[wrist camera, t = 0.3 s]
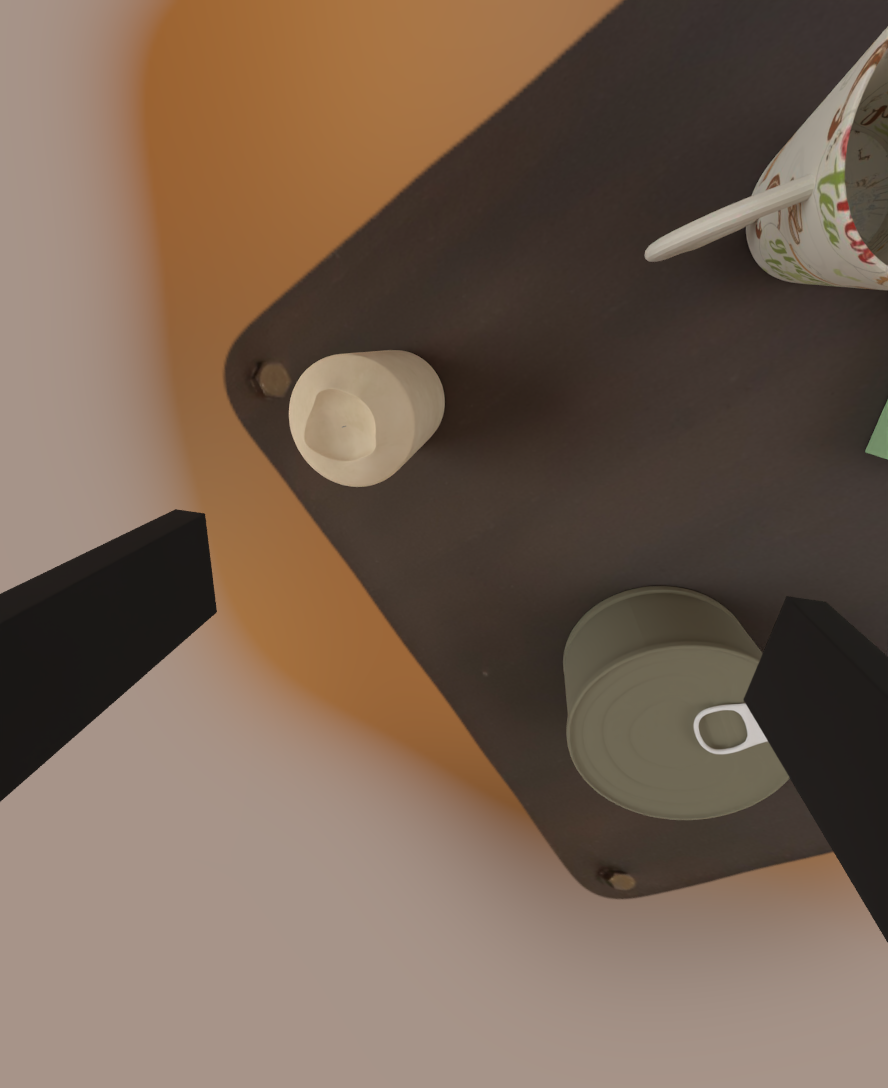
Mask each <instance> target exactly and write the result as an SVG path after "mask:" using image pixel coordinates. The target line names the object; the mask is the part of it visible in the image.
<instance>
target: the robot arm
mask: <svg viewBox="0 0 888 1088" xmlns="http://www.w3.org/2000/svg"><path fill="white" fill-rule="evenodd" d="M216 612H217V610H216V602H215V594H214V585H213V577H212V568H211V561H210V552H209V544H208V535H207V527H206V519H205V514H204V513H197V512H189V511H182V510H174V511H171V512H169V513H167V514H165V515H163V516H161V517H159V518H157V519H155V520H153V521H150V522H149V523H146V524H144V525H142V526H140V527H138V528H136V529H134V530H132V531H130V532H128V533H126V534H124V535H121V536H119V537H118V538H115V539H113V540H111V541H109V542H107V543H105V544H103V545H101V546H99V547H97V548H95V549H92V550H90V551H88V552H86V553H84V554H82V555H80V556H78V557H76V558H74V559H72V560H70V561H68V562H66V563H63V564H61V565H60V566H57V567H55V568H53V569H51V570H49V571H47V572H45V573H43V574H41V575H39V576H37V577H34V578H32V579H30V580H28V581H26V582H24V583H22V584H20V585H18V586H16V587H14V588H12V589H10V590H7V591H5V592H3V593H1V594H0V801H1V800H3V799H4V798H5V797H6V796H7V795H8V794H10V793H11V792H12V791H13V790H14V789H15V788H16V787H17V786H19V785H20V784H21V783H22V782H23V781H24V780H25V779H27V778H28V777H29V776H30V775H31V774H32V773H33V772H35V771H36V770H37V769H38V768H39V767H40V766H42V765H43V764H44V763H45V762H46V761H47V760H48V759H50V758H51V757H52V756H53V755H54V754H55V753H56V752H57V751H59V750H60V749H61V748H62V747H63V746H64V745H66V743H68V742H69V741H70V740H71V739H72V738H74V737H75V736H76V735H77V734H78V733H79V732H80V731H82V730H83V729H84V728H85V727H86V726H87V725H88V724H89V723H91V722H92V721H93V720H94V719H95V718H96V717H97V716H99V715H100V714H101V713H102V712H103V711H104V710H105V709H107V708H108V707H109V706H110V705H111V704H112V703H114V702H115V701H116V700H117V699H118V698H119V697H120V696H122V695H123V694H124V693H125V692H126V691H127V690H128V689H129V688H131V687H132V686H133V685H134V684H135V683H136V682H138V681H139V680H140V679H141V678H142V677H143V676H144V675H145V674H147V672H149V671H150V670H151V669H152V668H153V667H155V665H157V664H158V663H159V662H160V661H161V660H163V659H164V658H165V657H166V656H167V655H168V654H169V653H171V652H172V651H173V650H174V649H175V648H176V647H177V646H179V645H180V644H181V643H182V642H183V641H184V640H185V639H187V638H188V637H189V636H190V635H191V634H192V633H193V632H195V631H196V630H197V629H198V628H199V627H200V626H201V625H203V624H204V623H205V622H206V621H207V620H208V619H209V618H211V617H212V616H213V615H214V614H215V613H216ZM743 700H744V702H745V703H746V705H747V707H748V708H749V710H750V712H751V714H752V715H753V717H754V719H755V720H756V722H757V724H758V725H759V727H760V729H761V730H762V732H763V734H764V735H765V737H766V739H767V740H768V742H769V744H770V746H771V747H772V749H773V751H774V752H775V754H776V756H777V757H778V759H779V761H780V762H781V764H782V766H783V767H784V769H785V771H786V772H787V774H788V776H789V777H790V779H791V781H792V783H793V784H794V786H795V788H796V789H797V791H798V793H799V794H800V796H801V798H802V799H803V801H804V803H805V804H806V806H807V808H808V809H809V811H810V813H811V814H812V816H813V818H814V820H815V821H816V823H817V825H818V826H819V828H820V830H821V831H822V833H823V835H824V836H825V838H826V840H827V841H828V843H829V845H830V846H831V848H832V850H833V851H834V853H835V855H836V857H837V858H838V860H839V861H840V863H841V865H842V867H843V868H844V870H845V872H846V873H847V875H848V877H849V878H850V880H851V882H852V883H853V885H854V886H855V888H856V890H857V892H858V894H859V895H860V897H861V899H862V900H863V902H864V904H865V905H866V907H867V908H868V910H869V912H870V913H871V915H872V917H873V919H874V920H875V922H876V924H877V925H878V927H879V929H880V931H881V932H882V934H883V935H884V937H885V939H886V941H887V942H888V657H887V656H886V655H885V654H884V653H883V652H882V651H881V650H880V649H878V648H877V647H876V646H875V645H874V644H873V643H872V642H870V641H869V640H868V639H867V638H866V637H865V636H864V635H863V634H861V633H860V632H859V631H858V630H857V629H856V628H855V627H854V626H852V625H851V624H850V623H849V622H848V621H847V620H846V619H844V618H843V617H842V616H841V615H840V614H839V613H838V612H837V611H835V610H834V609H833V608H832V607H831V606H830V605H829V604H828V603H826V602H823V601H815V600H808V599H801V598H794V597H786V599H785V601H784V604H783V606H782V609H781V611H780V613H779V616H778V618H777V621H776V623H775V625H774V628H773V630H772V632H771V635H770V637H769V640H768V642H767V644H766V647H765V649H764V652H763V654H762V656H761V659H760V661H759V663H758V666H757V668H756V671H755V673H754V675H753V678H752V680H751V683H750V685H749V687H748V690H747V692H746V694H745V697H744V699H743Z"/></svg>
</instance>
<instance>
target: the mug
mask: <svg viewBox="0 0 888 1088" xmlns="http://www.w3.org/2000/svg"><path fill="white" fill-rule="evenodd" d="M744 227H746V236H747V242H748V246H749V249H750V251H751V254H752V256H753V258H754V259H755V261H756V262H757V263H758V265H759V266H760V267H761V268H762V269H763V270H764V271H766V272H767V273H768V274H770V275H771V276H773V277H775V278H778V279H780V280H783V281H787V282H792V283H800V284H813V285H825V286H838V287H851V288H863V289H876V290H888V27H887V28H886V29H885V30H884V31H883V33H882V34H881V35H880V36H879V37H878V38H877V40H876V41H875V42H874V43H873V44H872V45H871V46H870V48H869V49H868V50H867V51H866V52H865V53H864V55H863V56H862V57H861V58H860V59H859V60H858V61H857V63H856V64H855V65H854V66H853V67H852V68H851V70H850V71H849V72H848V73H847V74H846V75H845V76H844V78H843V79H842V80H841V81H840V82H839V83H838V85H837V86H836V87H835V88H834V89H833V90H832V91H831V93H830V94H829V95H828V96H827V97H826V98H825V100H824V101H823V102H822V103H821V104H820V105H819V106H818V108H817V109H816V110H815V111H814V112H813V113H812V115H811V116H810V117H809V118H808V119H807V120H806V121H805V123H804V124H803V125H802V126H801V127H800V128H799V130H798V131H797V132H796V133H795V134H794V135H793V136H792V138H791V139H790V140H789V141H788V142H787V143H786V145H785V146H784V147H783V148H782V149H781V150H780V151H779V153H778V154H777V155H776V156H775V157H774V159H773V160H772V161H771V162H770V164H769V165H768V166H767V168H766V169H765V171H764V172H763V174H762V176H761V177H760V179H759V181H758V182H757V184H756V187H755V189H754V191H753V193H752V196H751V197H748V198H746V199H743V200H741V201H738V202H736V203H734V204H731V205H729V206H726V207H724V208H722V209H719V210H717V211H715V212H712V213H710V214H708V215H706V216H704V217H702V218H699V219H697V220H695V221H693V222H691V223H689V224H687V225H685V226H682V227H680V228H678V229H676V230H674V231H672V232H670V233H668V234H667V235H665V236H663V237H661V238H659V239H658V240H656V241H655V242H654V243H652V244H651V245H650V246H649V247H648V248H647V249H646V251H645V258H646V260H648V261H649V262H657V261H661V260H665V259H668V258H671V257H673V256H675V255H678V254H681V253H684V252H687V251H691V250H695V249H697V248H700V247H702V246H704V245H706V244H709V243H711V242H713V241H715V240H717V239H720V238H722V237H724V236H727V235H729V234H731V233H733V232H736V231H738V230H740V229H742V228H744Z"/></svg>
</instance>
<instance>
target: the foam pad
mask: <svg viewBox="0 0 888 1088" xmlns="http://www.w3.org/2000/svg"><path fill="white" fill-rule="evenodd" d="M865 452H866V453H869V454H872V455H875V456H878V457H881V458H884V459H887V460H888V400H887V402H886V404H885V407H884V409H883V411H882V413H881V416H880V418H879V420H878V423H877V425H876V427H875V429H874V432H873V434H872V436H871V439H870V441H869V443H868V446H867V448H866V450H865Z"/></svg>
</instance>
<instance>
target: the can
mask: <svg viewBox="0 0 888 1088" xmlns="http://www.w3.org/2000/svg"><path fill="white" fill-rule="evenodd" d="M762 654H763V653H762V652H761V651H760V649H759V648H758V647H757V646H756V644H755V643H754V642H753V640H752V639H751V638H750V636H749V635H748V634H747V633H746V631H745V630H744V628H743V627H742V626H741V624H740V623H739V621H738V620H737V619H736V618H735V617H734V615H733V614H732V613H731V612H730V611H729V610H727V609H726V608H725V607H724V606H723V605H721V604H720V603H718V602H717V601H715V600H713V599H712V598H710V597H708V596H706V595H704V594H701V593H699V592H696V591H693V590H689V589H685V588H679V587H673V586H648V587H641V588H635V589H631V590H627V591H624V592H621V593H618V594H616V595H614V596H611V597H609V598H607V599H605V600H604V601H602V602H600V603H599V604H597V605H596V606H594V607H593V608H592V609H590V610H589V611H588V612H587V613H586V614H585V615H584V616H583V617H582V618H581V619H580V620H579V621H578V623H577V624H576V625H575V627H574V628H573V630H572V631H571V633H570V636H569V638H568V640H567V643H566V646H565V650H564V656H563V670H564V677H565V688H566V699H567V711H568V719H567V743H568V749H569V752H570V756H571V758H572V761H573V763H574V765H575V767H576V768H577V770H578V772H579V773H580V774H581V776H582V777H583V778H584V780H585V781H586V782H587V783H588V784H589V785H590V786H591V787H592V788H593V789H594V790H595V791H597V792H598V793H599V794H601V795H602V796H603V797H605V798H606V799H608V800H610V801H611V802H613V803H615V804H617V805H619V806H621V807H623V808H626V809H628V810H631V811H633V812H636V813H639V814H643V815H647V816H651V817H656V818H663V819H672V820H698V819H707V818H714V817H719V816H724V815H727V814H731V813H734V812H737V811H740V810H743V809H745V808H748V807H750V806H752V805H754V804H756V803H758V802H760V801H762V800H764V799H765V798H767V797H768V796H770V795H771V794H773V793H774V792H775V791H777V790H778V789H779V788H780V787H781V786H782V785H783V784H784V783H786V782H787V780H788V779H789V778H790V777H789V776H788V774H787V772H786V771H785V769H784V767H783V766H782V764H781V762H780V761H779V759H778V757H777V756H776V754H775V752H774V751H773V749H772V747H771V746H770V744H769V742H768V740H767V739H766V737H765V735H764V734H763V732H762V730H761V729H760V727H759V725H758V724H757V722H756V720H755V719H754V717H753V715H752V714H751V712H750V710H749V708H748V707H747V705H746V703H745V702H744V700H743V699H744V697H745V694H746V692H747V690H748V687H749V685H750V683H751V680H752V678H753V675H754V673H755V671H756V668H757V666H758V663H759V661H760V659H761V656H762Z"/></svg>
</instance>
